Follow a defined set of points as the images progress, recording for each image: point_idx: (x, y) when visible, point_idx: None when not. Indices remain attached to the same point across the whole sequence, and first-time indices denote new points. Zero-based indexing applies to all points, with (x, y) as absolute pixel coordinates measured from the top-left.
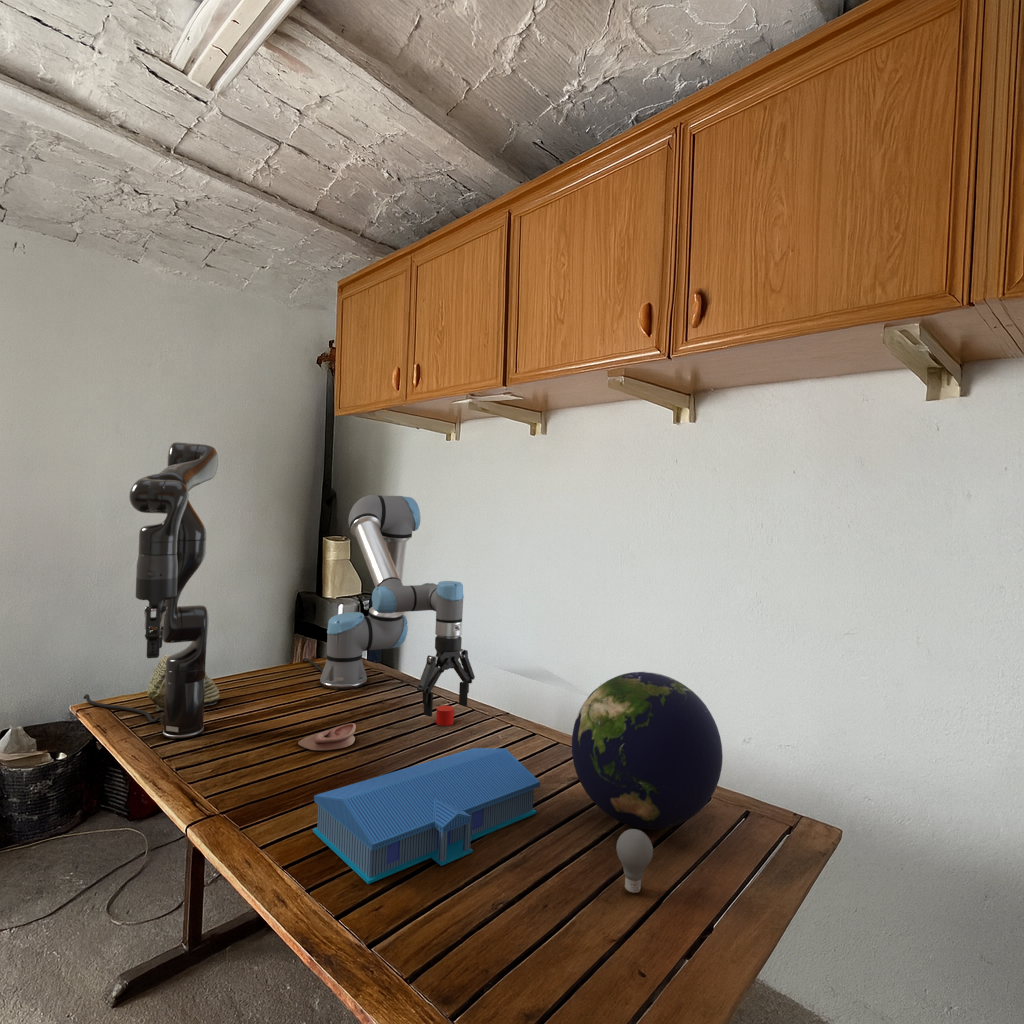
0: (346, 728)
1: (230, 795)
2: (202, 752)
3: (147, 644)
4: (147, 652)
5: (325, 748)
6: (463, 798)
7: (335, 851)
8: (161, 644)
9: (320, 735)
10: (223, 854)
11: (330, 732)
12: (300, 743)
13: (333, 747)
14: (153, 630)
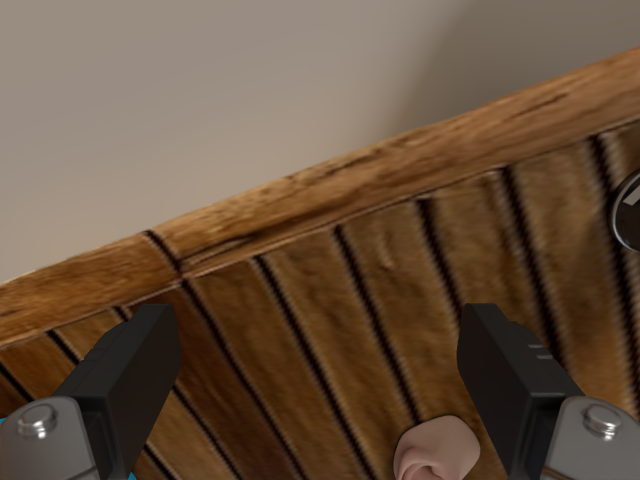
0: None
1: (253, 296)
2: (499, 248)
3: (95, 369)
4: (127, 327)
5: (399, 452)
6: None
7: None
8: (465, 380)
9: (425, 463)
10: (36, 282)
11: (440, 478)
12: (441, 420)
13: (397, 463)
14: (539, 423)
